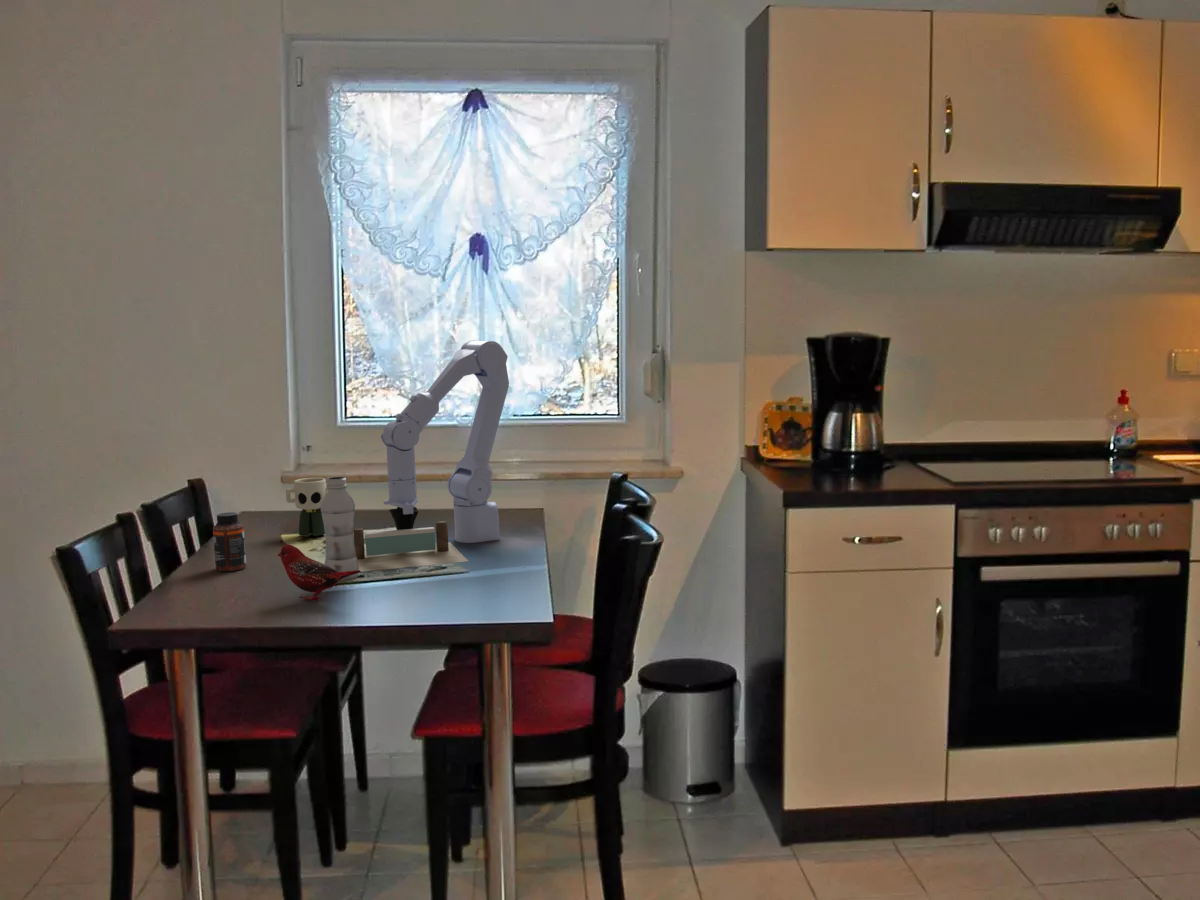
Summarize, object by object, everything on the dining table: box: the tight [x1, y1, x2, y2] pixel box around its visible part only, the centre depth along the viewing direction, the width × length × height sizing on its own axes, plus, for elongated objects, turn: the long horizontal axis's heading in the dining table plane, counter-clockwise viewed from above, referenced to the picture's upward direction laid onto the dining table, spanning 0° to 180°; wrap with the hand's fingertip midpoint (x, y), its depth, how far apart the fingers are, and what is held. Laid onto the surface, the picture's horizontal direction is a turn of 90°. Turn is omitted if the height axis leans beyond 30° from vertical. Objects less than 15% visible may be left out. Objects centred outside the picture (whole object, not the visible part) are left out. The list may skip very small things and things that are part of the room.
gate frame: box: [353, 520, 469, 573], centre depth 233 cm, size 22×20×7 cm
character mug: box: [285, 477, 328, 537], centre depth 261 cm, size 11×7×13 cm, turn 97°
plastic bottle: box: [321, 476, 359, 582], centre depth 216 cm, size 6×7×20 cm
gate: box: [364, 526, 436, 556], centre depth 235 cm, size 14×2×4 cm, turn 108°
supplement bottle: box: [212, 511, 247, 572], centre depth 230 cm, size 6×6×11 cm
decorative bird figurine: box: [277, 543, 362, 602], centre depth 203 cm, size 3×18×10 cm, turn 67°
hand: (405, 542), depth 240 cm, fingers closed
